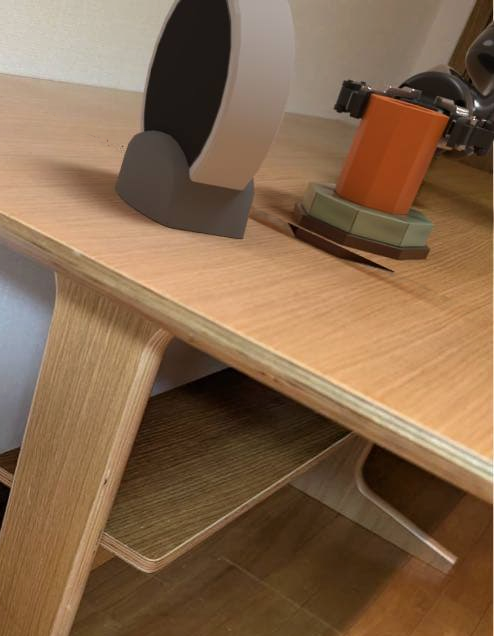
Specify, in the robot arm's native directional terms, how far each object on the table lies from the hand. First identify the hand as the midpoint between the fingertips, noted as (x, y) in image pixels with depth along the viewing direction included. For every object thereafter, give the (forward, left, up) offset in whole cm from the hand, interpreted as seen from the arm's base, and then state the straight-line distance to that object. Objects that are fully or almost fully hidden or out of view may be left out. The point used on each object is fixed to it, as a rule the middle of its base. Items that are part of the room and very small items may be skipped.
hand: (405, 118), depth 69 cm
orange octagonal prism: (-1, -1, -7) cm, 7 cm away
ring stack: (-1, -1, -11) cm, 11 cm away
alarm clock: (+14, -10, -11) cm, 20 cm away
